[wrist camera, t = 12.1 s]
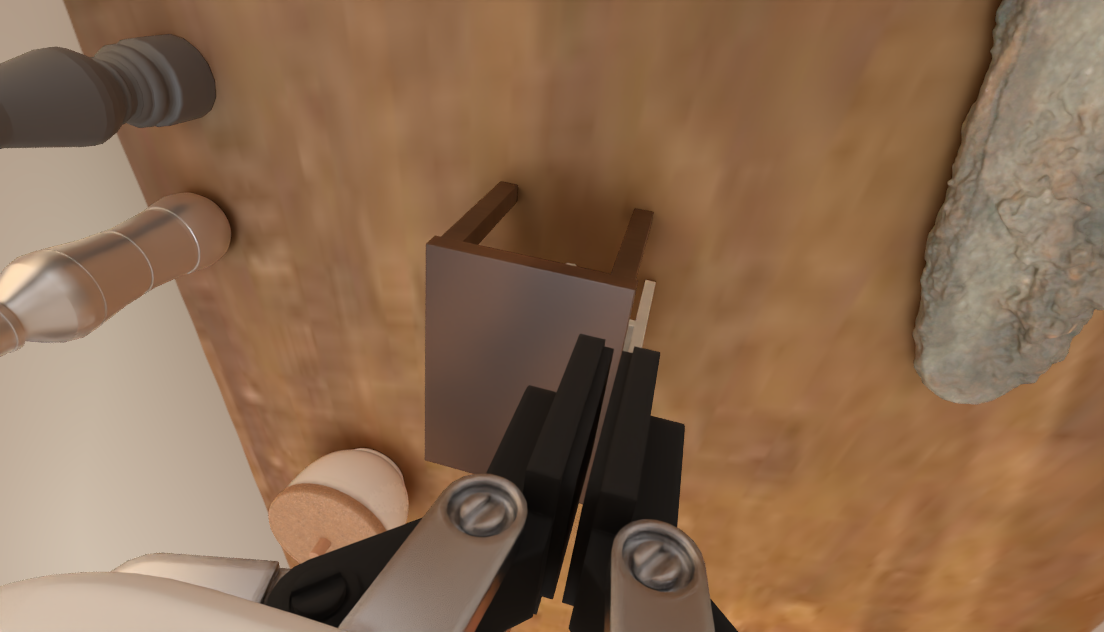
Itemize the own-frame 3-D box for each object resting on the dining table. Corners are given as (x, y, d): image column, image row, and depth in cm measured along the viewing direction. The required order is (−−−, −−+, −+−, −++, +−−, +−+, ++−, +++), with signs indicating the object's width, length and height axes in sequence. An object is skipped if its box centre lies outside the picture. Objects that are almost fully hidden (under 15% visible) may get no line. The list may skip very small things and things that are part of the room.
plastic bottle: (250, 214, 51) (17, 330, 34) (232, 269, 54) (14, 399, 38) (184, 170, 50) (-85, 267, 33) (171, 229, 54) (-78, 343, 37)
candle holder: (220, 59, 44) (-226, 134, 23) (211, 132, 48) (-188, 255, 27) (147, 18, 44) (-370, 55, 23) (142, 94, 48) (-313, 187, 27)
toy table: (657, 209, 42) (635, 290, 31) (616, 394, 51) (588, 506, 40) (497, 178, 44) (425, 243, 33) (484, 361, 53) (424, 460, 42)
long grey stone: (1313, -269, 26) (1044, -237, 28) (1432, -331, 21) (1099, -285, 24) (1035, 397, 41) (878, 377, 44) (1070, 443, 37) (893, 418, 39)
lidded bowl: (371, 411, 59) (306, 491, 50) (450, 496, 63) (403, 586, 53) (299, 451, 65) (230, 529, 56) (375, 526, 69) (321, 612, 59)
